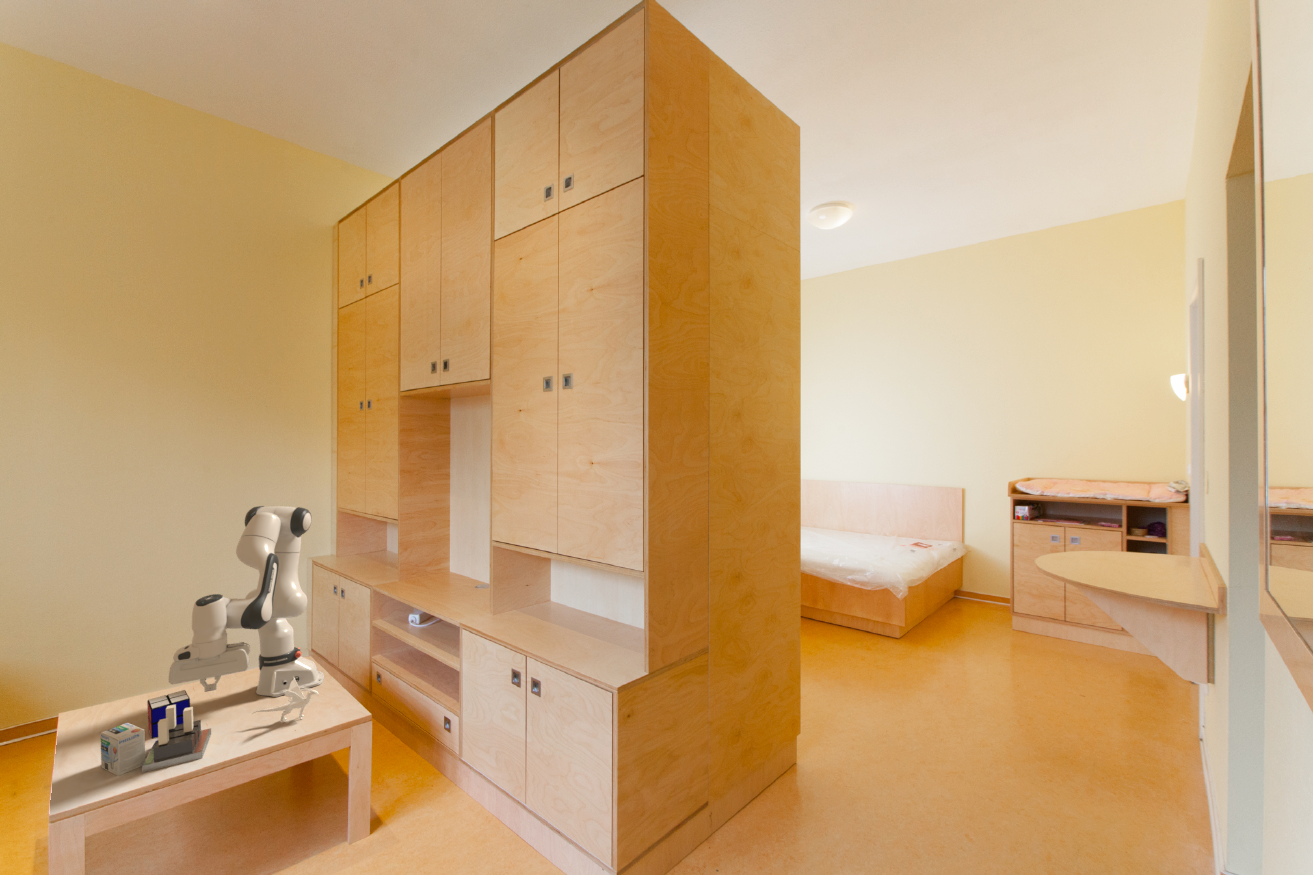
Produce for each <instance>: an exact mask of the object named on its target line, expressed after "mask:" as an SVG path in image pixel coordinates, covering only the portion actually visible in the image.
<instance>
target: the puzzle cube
mask: <svg viewBox="0 0 1313 875" xmlns="http://www.w3.org/2000/svg"><path fill="white" fill-rule="evenodd" d="M175 704H176V725H178V724H183V711H184V709H185V708H189V707H191V699H190V696H189V695H188V693H187V691H186V690H185V689H182V690H179V691H175V692H171V693H168V694H164V695H161V696H158V697H153V698H150V699H148V700H147V728H148V732H149V735H150V737H151V739H156V738H158V722H159V720H161V719H166V708H167V706H170V705H175Z"/></svg>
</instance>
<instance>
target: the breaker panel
mask: <svg viewBox="0 0 1313 875" xmlns="http://www.w3.org/2000/svg"><path fill="white" fill-rule="evenodd" d="M201 723H202V722H201V719H198V720H193V730H192V731H189V732H185V733H184V723H183V724H178V725H176V727H175V728H174V729H170V730H169V741H168V743H166V744H162V745H159V743H158V739H157V740H155V741H154V743H153V745H152V747H151V749H150V750H149V752H148V754H147V756H146V757H145V762H144V763H143V765H142V766H141V773H142V774H143V773H146V772H147V773H148V772H151V771H155V770H160V769H164V768H168V767H172V766H175V765H180V764H184V763H189V762H191V761H195V760H196V761H197V760H200V759H203V757H204V754H205V752H206V750H207V747H208V744H209V741H210V738H211V736H212V728H211V727H210V728H206V729H202V726H201Z"/></svg>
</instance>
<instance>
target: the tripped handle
mask: <svg viewBox="0 0 1313 875" xmlns="http://www.w3.org/2000/svg"><path fill="white" fill-rule="evenodd" d="M193 721H194V707H193V706H190V707H189V708H185V709H184V711H183V723H184V733H185V732H189V731H192V730H193Z"/></svg>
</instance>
